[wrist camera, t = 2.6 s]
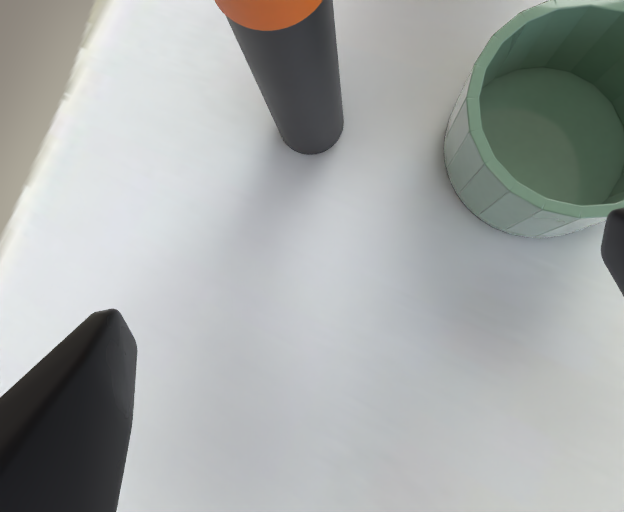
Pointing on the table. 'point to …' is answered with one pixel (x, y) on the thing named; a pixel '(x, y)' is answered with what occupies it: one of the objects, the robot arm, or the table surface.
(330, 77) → the marker
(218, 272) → the table surface
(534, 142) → the pen pot
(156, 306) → the table surface
